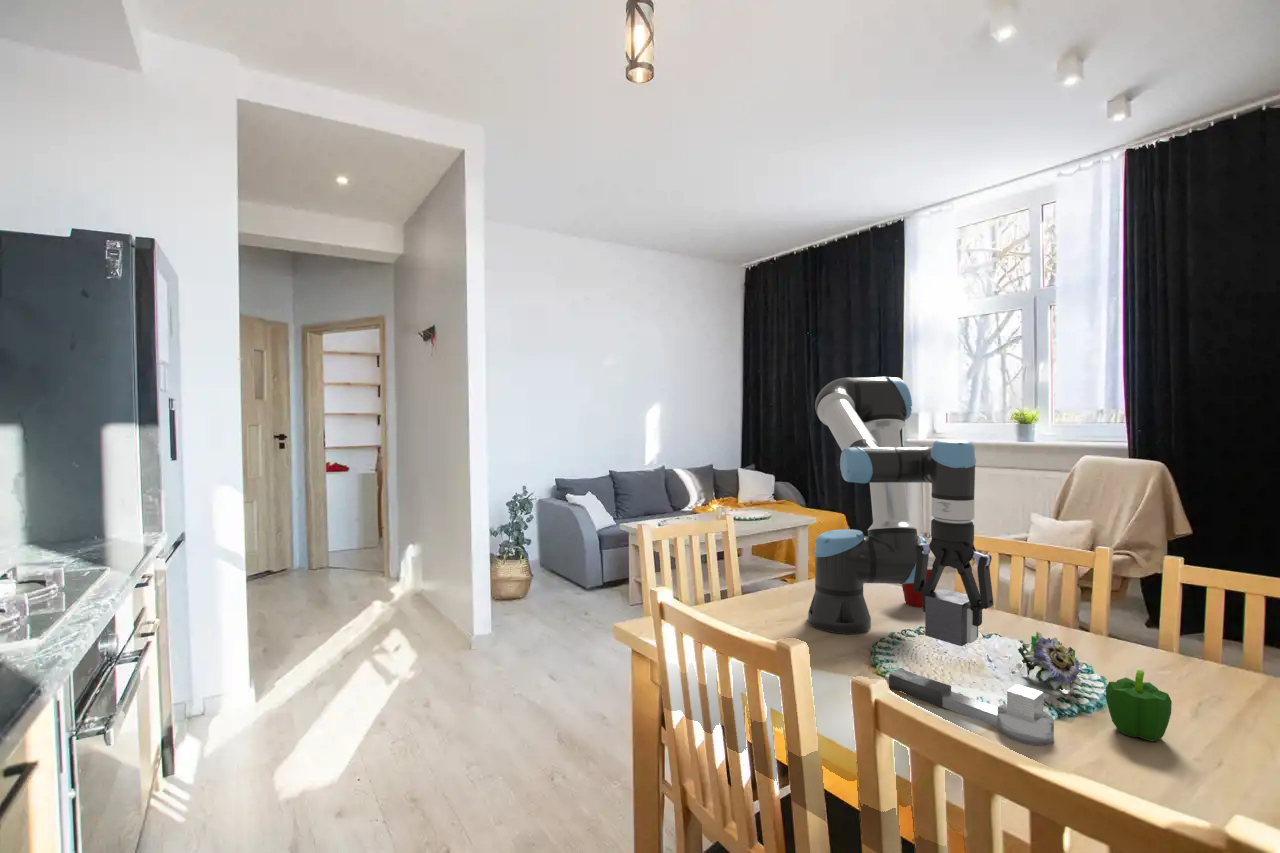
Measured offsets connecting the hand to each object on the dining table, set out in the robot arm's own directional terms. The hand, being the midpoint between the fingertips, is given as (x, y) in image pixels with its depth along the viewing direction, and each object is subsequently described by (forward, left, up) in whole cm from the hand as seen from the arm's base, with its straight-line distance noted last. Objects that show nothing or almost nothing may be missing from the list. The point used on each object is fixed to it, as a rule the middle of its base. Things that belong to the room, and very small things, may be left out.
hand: (951, 634), depth 120 cm
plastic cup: (-29, +43, -10) cm, 52 cm away
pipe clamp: (+10, +25, -10) cm, 29 cm away
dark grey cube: (0, 0, 0) cm, 0 cm away
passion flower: (+12, +14, -10) cm, 21 cm away
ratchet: (+6, -9, -10) cm, 15 cm away
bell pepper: (+28, +5, -10) cm, 30 cm away
